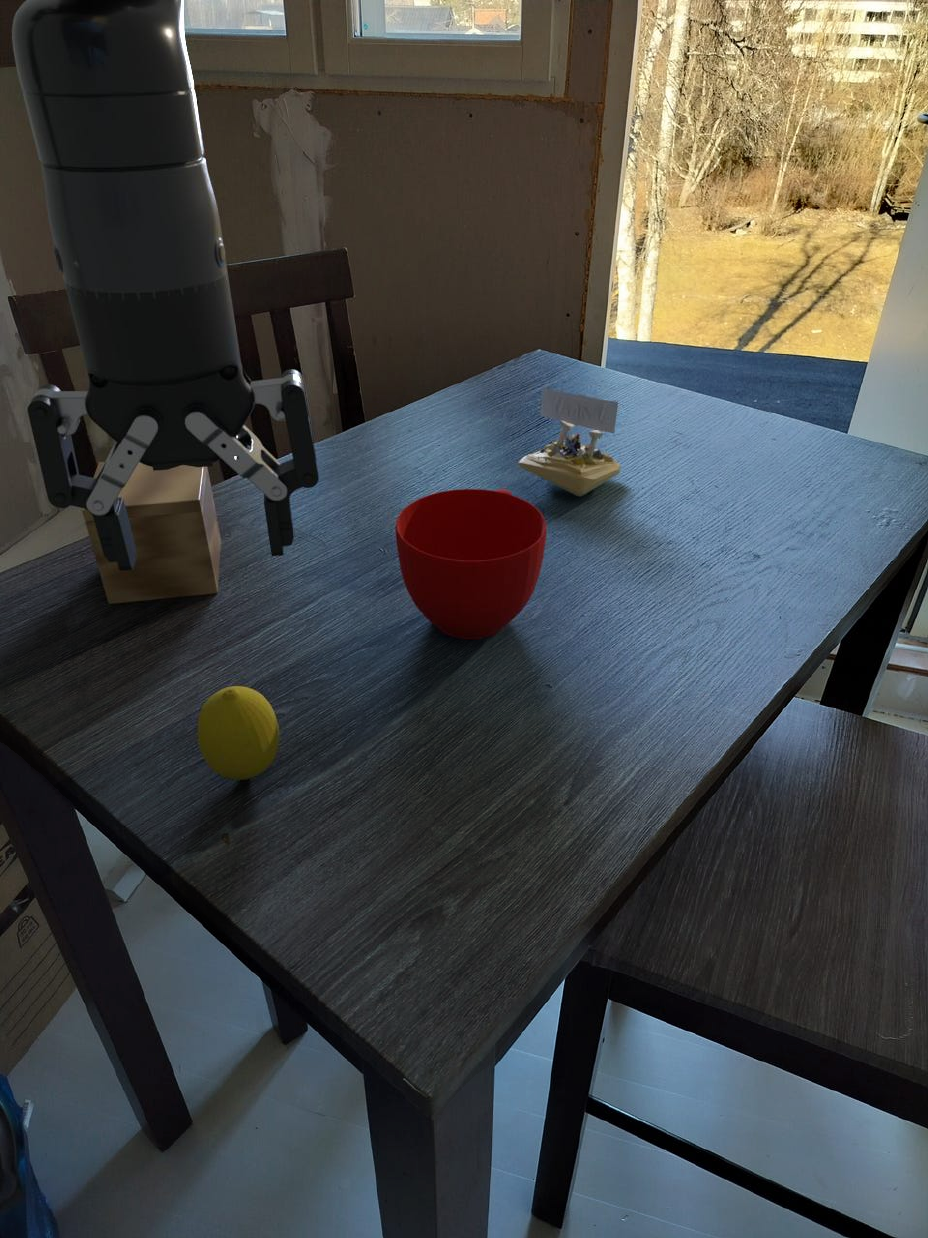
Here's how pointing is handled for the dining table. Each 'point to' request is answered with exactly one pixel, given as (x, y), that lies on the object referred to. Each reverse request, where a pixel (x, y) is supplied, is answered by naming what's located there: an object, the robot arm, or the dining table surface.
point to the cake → (575, 443)
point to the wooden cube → (164, 536)
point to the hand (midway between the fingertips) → (203, 556)
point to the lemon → (238, 733)
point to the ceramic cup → (470, 558)
